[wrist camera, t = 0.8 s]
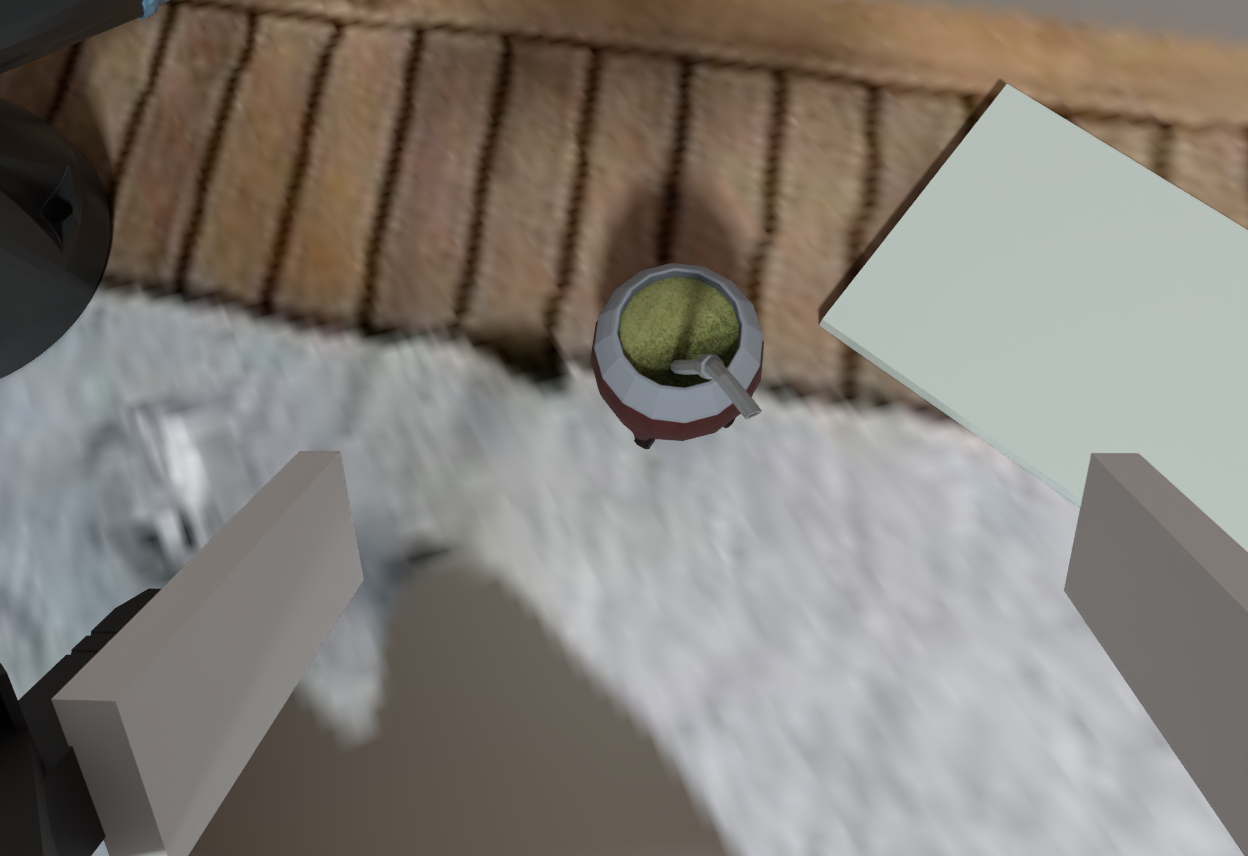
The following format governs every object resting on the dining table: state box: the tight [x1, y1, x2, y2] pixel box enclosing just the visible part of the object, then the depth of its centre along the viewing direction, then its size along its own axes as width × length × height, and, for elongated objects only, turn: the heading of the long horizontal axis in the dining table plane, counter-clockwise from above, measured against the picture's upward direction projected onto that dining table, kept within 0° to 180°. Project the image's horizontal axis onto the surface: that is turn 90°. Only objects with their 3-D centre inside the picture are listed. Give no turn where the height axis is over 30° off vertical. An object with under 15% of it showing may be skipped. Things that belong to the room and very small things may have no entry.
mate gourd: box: [591, 263, 764, 449], centre depth 33 cm, size 8×8×15 cm
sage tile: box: [819, 84, 1248, 552], centre depth 40 cm, size 22×16×1 cm
